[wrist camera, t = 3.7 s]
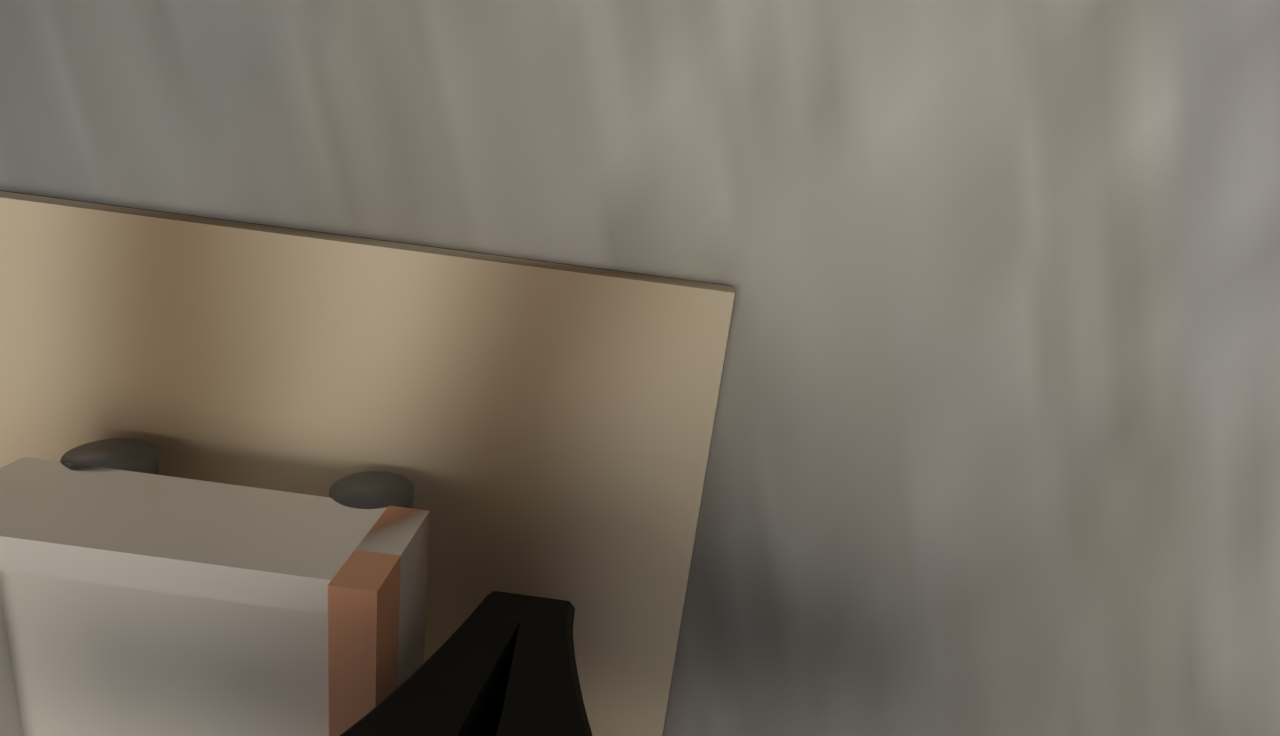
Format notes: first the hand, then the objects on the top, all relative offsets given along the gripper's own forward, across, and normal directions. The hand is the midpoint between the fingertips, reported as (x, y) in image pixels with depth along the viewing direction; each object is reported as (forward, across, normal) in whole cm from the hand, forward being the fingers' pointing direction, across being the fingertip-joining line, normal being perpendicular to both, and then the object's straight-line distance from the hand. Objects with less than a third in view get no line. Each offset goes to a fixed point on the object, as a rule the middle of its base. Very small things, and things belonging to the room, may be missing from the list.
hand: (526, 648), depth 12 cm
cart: (+1, +4, 0) cm, 5 cm away
